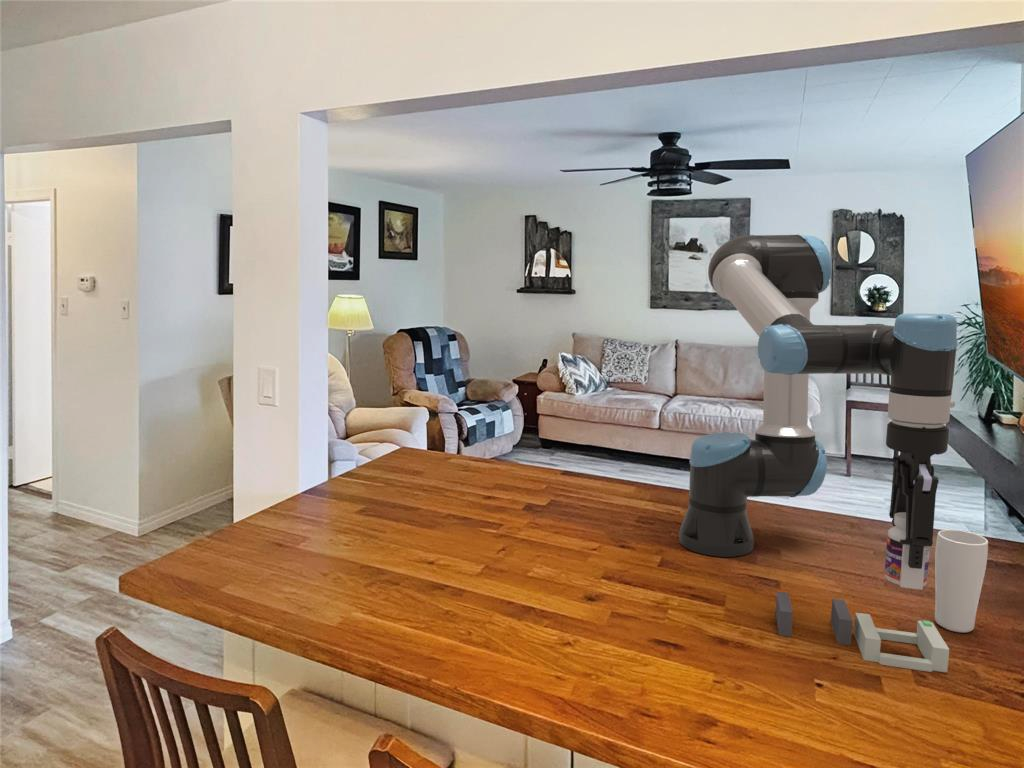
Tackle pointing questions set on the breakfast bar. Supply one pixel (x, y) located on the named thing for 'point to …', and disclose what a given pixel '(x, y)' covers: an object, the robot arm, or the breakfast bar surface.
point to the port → (924, 638)
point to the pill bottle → (899, 550)
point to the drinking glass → (958, 578)
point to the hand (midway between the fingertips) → (905, 578)
